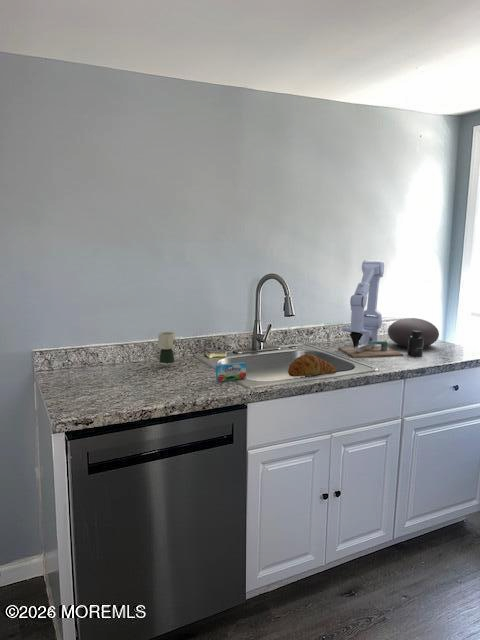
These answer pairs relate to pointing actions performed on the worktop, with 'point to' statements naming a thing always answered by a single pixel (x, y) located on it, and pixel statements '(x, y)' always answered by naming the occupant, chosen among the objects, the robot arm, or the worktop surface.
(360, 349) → the link
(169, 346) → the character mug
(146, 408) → the worktop surface
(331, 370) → the pastry
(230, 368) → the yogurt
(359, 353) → the board
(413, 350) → the supplement bottle
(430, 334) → the smooth stone
